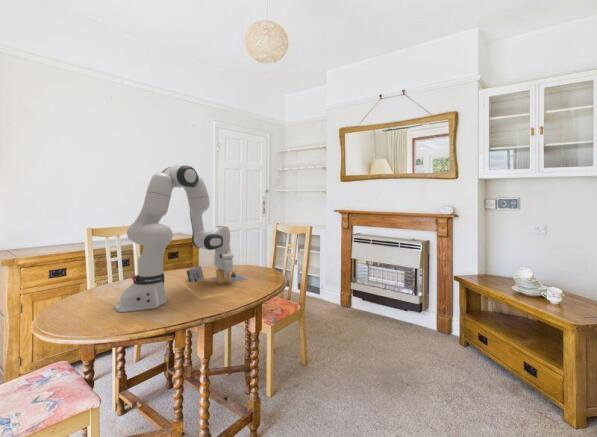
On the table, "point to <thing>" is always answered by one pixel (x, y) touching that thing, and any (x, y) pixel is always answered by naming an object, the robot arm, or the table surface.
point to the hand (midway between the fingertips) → (222, 276)
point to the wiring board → (232, 278)
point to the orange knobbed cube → (222, 276)
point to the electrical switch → (195, 274)
